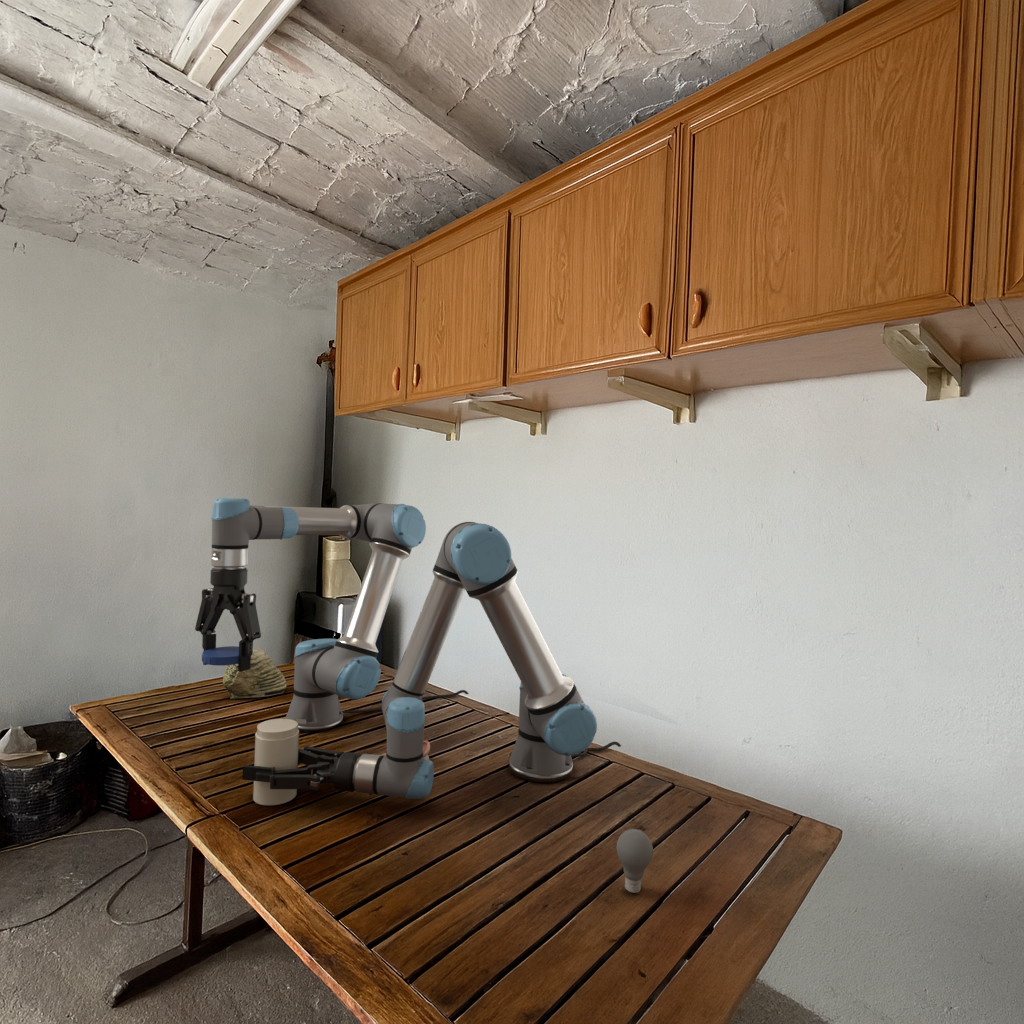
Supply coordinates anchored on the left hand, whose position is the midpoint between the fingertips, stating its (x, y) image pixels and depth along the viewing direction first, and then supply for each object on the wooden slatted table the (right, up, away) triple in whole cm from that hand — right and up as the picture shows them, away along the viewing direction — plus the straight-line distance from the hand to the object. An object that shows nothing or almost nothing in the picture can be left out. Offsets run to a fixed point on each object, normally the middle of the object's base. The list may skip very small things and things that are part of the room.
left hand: (226, 666), depth 141 cm
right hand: (+9, -19, -7) cm, 22 cm away
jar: (+14, -25, -8) cm, 30 cm away
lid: (0, +3, 0) cm, 3 cm away
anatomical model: (+37, -26, +11) cm, 46 cm away
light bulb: (+84, -29, -36) cm, 96 cm away
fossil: (-17, -23, +57) cm, 63 cm away
